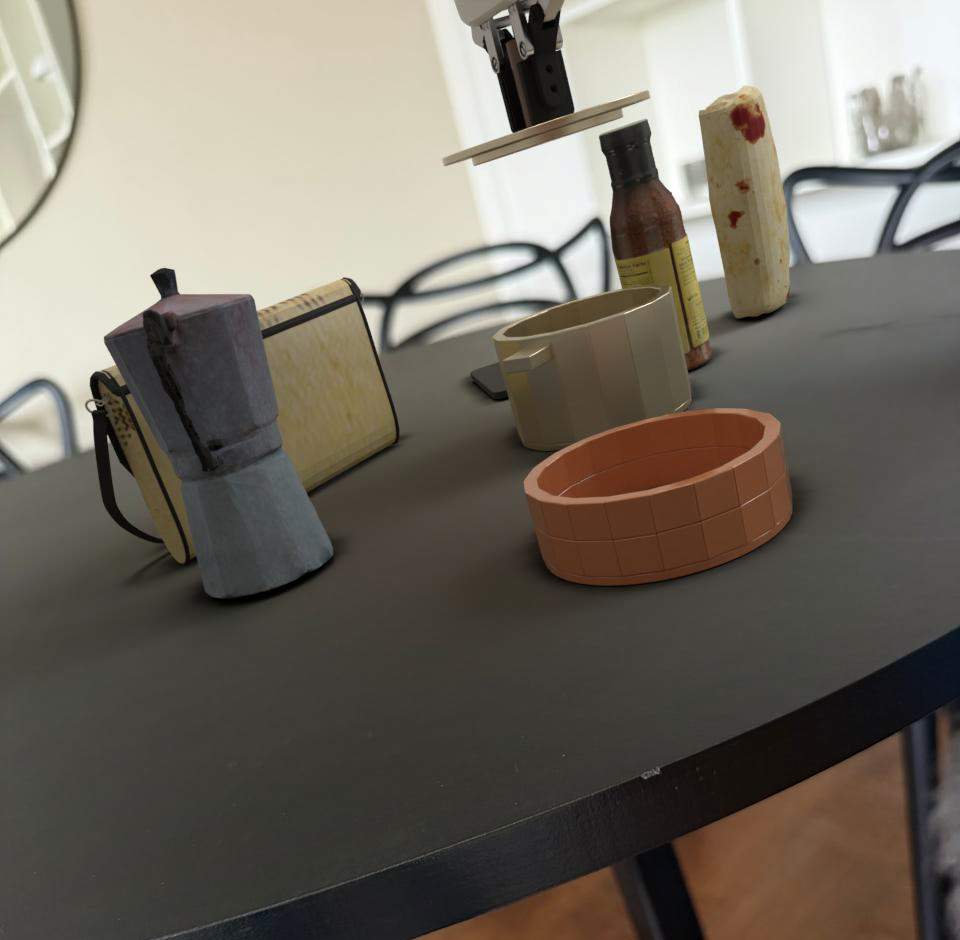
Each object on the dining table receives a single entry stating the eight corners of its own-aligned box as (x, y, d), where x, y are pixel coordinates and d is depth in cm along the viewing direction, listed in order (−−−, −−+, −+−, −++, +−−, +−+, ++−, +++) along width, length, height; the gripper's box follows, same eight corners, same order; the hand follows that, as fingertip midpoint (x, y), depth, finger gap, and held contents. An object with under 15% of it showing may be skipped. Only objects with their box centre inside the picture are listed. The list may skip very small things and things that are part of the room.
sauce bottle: (692, 354, 93) (646, 117, 85) (727, 359, 87) (682, 107, 79) (627, 377, 92) (575, 140, 84) (659, 384, 86) (607, 130, 78)
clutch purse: (365, 441, 98) (312, 283, 92) (419, 436, 94) (367, 269, 88) (116, 579, 79) (28, 389, 73) (170, 580, 74) (81, 378, 68)
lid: (688, 95, 72) (668, -10, 69) (584, 129, 62) (556, 7, 59) (519, 151, 81) (496, 60, 79) (405, 188, 71) (374, 85, 69)
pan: (829, 476, 56) (817, 397, 55) (731, 587, 47) (714, 497, 46) (615, 488, 65) (599, 420, 63) (498, 584, 56) (475, 508, 54)
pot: (733, 372, 83) (714, 264, 80) (624, 457, 70) (596, 334, 67) (590, 390, 91) (568, 293, 88) (470, 469, 79) (438, 360, 75)
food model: (795, 314, 96) (760, 80, 88) (723, 330, 98) (683, 104, 90) (802, 293, 104) (771, 76, 96) (736, 308, 106) (700, 99, 98)
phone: (493, 394, 97) (467, 371, 111) (496, 402, 98) (469, 379, 111) (567, 370, 98) (532, 351, 111) (569, 378, 98) (534, 358, 112)
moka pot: (340, 522, 75) (241, 243, 67) (349, 592, 61) (225, 249, 53) (215, 562, 75) (101, 286, 67) (196, 642, 61) (47, 304, 53)
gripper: (579, -268, 58) (650, 87, 65) (469, -152, 72) (538, 128, 79) (461, -244, 56) (549, 119, 63) (373, -130, 70) (453, 156, 77)
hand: (542, 122), depth 71 cm, fingers closed on lid, 2 cm apart
